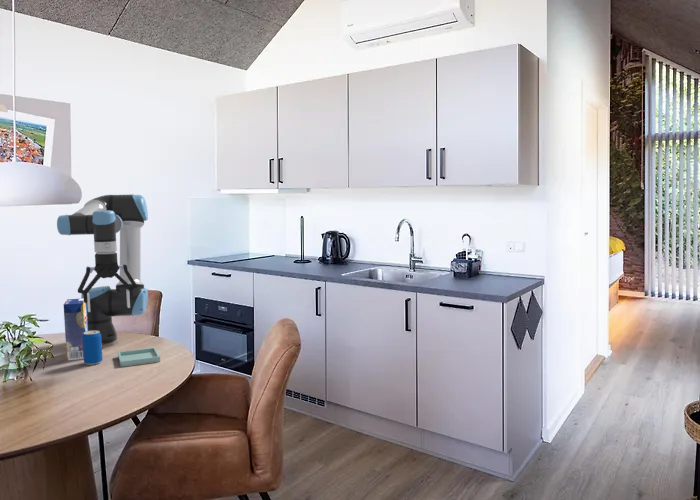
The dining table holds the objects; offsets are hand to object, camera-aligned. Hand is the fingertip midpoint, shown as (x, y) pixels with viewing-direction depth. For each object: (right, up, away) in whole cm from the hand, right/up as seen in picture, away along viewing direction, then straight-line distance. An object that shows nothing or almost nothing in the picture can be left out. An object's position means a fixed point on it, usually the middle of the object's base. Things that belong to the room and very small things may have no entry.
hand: (109, 309), depth 208 cm
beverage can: (-8, -21, +4) cm, 23 cm away
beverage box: (-18, -20, +14) cm, 30 cm away
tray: (+8, -20, +8) cm, 23 cm away
